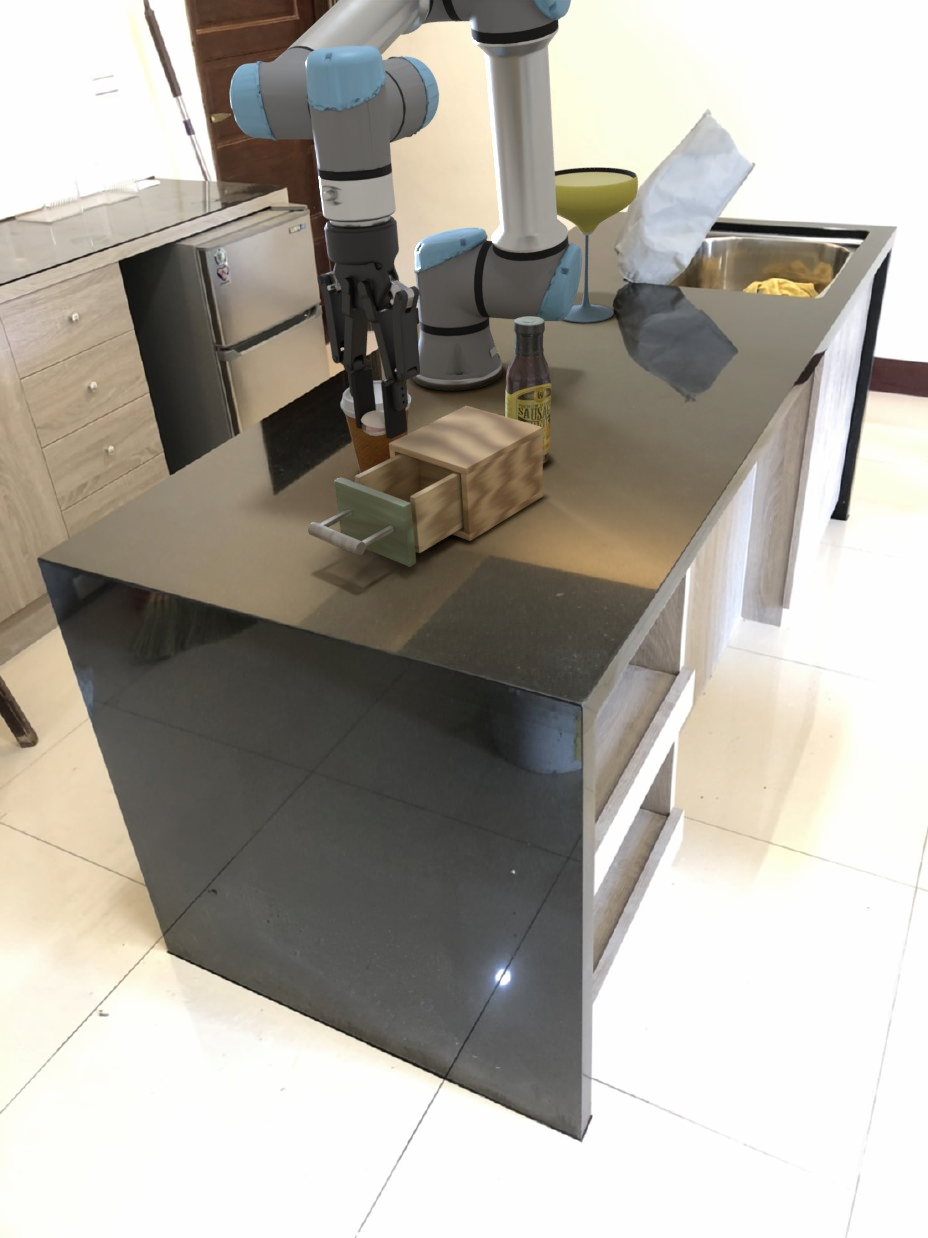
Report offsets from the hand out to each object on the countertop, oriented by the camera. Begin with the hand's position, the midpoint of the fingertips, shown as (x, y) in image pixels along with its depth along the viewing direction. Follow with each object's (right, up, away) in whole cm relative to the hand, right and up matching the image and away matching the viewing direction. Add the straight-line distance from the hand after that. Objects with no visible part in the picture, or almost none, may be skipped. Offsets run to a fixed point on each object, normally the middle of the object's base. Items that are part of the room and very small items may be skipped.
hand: (381, 428), depth 117 cm
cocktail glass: (+33, +37, +79) cm, 93 cm away
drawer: (+1, -12, +6) cm, 14 cm away
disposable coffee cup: (-2, -2, +24) cm, 24 cm away
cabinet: (+10, -7, +15) cm, 19 cm away
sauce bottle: (+19, 0, +25) cm, 31 cm away
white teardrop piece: (0, 0, 0) cm, 1 cm away
